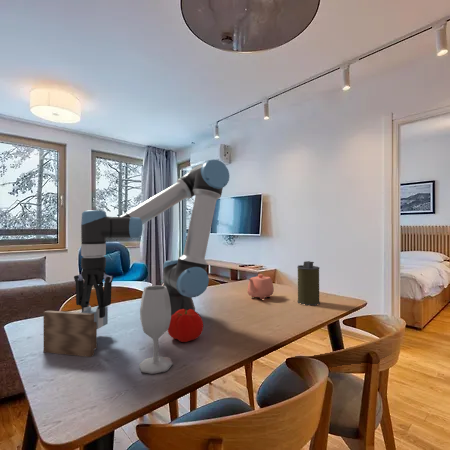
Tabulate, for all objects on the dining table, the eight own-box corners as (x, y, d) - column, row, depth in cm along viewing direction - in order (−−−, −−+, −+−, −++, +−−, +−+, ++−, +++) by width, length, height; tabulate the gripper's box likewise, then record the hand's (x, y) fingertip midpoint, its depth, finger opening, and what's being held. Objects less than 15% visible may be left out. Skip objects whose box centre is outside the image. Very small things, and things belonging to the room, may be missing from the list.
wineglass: (142, 360, 81) (142, 284, 81) (174, 358, 82) (173, 284, 82) (135, 375, 73) (135, 291, 73) (170, 374, 73) (170, 290, 73)
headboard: (103, 348, 89) (103, 309, 89) (90, 356, 83) (90, 314, 84) (58, 344, 92) (58, 306, 92) (43, 352, 87) (43, 311, 87)
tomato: (170, 332, 102) (170, 307, 102) (205, 333, 102) (204, 307, 102) (163, 345, 91) (163, 316, 92) (201, 345, 91) (201, 316, 91)
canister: (324, 303, 140) (324, 261, 140) (310, 306, 134) (309, 263, 134) (306, 298, 149) (306, 259, 149) (292, 302, 143) (292, 261, 143)
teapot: (260, 292, 164) (260, 271, 164) (279, 295, 156) (279, 273, 156) (239, 299, 148) (239, 276, 148) (258, 303, 141) (258, 278, 141)
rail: (107, 323, 101) (107, 306, 101) (77, 339, 87) (78, 319, 87) (97, 323, 102) (97, 305, 102) (65, 338, 88) (65, 318, 88)
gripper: (123, 256, 99) (122, 324, 99) (79, 255, 103) (79, 321, 103) (109, 258, 92) (109, 332, 92) (63, 257, 95) (62, 328, 95)
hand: (93, 326), depth 97 cm, fingers closed on rail, 4 cm apart
